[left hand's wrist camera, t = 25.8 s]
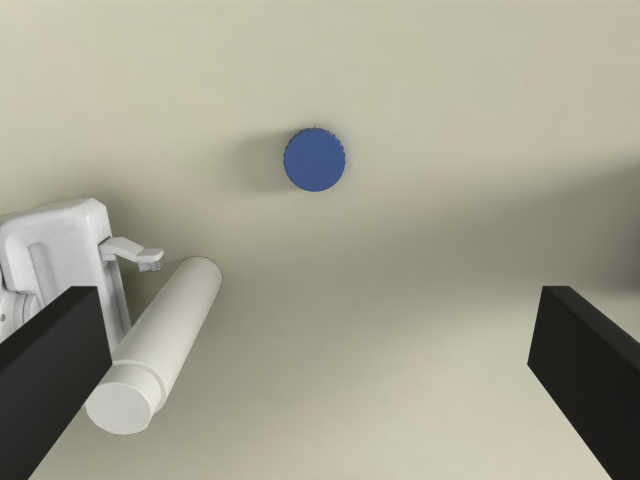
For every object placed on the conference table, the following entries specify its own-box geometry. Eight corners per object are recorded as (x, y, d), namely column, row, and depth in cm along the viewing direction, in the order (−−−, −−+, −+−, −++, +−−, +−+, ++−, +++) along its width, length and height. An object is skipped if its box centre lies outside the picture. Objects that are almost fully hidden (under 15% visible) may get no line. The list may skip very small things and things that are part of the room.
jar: (166, 274, 44) (63, 405, 26) (199, 247, 43) (114, 364, 25) (199, 305, 46) (121, 451, 28) (231, 280, 45) (173, 413, 27)
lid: (352, 176, 41) (354, 180, 39) (297, 195, 41) (296, 200, 40) (333, 118, 39) (334, 120, 37) (275, 139, 40) (273, 142, 38)
